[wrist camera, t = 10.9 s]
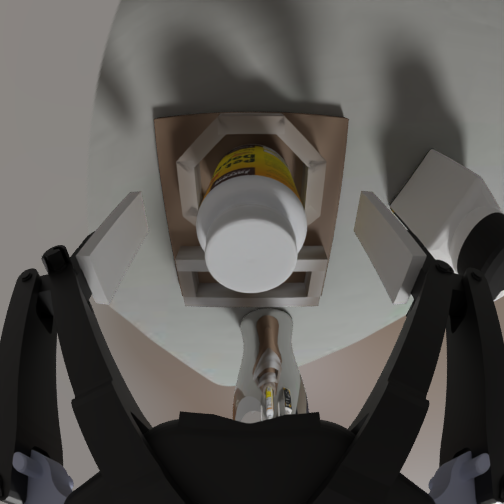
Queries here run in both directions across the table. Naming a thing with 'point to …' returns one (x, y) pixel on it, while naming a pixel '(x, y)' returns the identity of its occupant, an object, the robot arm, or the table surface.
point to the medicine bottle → (454, 218)
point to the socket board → (202, 170)
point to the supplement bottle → (251, 220)
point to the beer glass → (268, 369)
